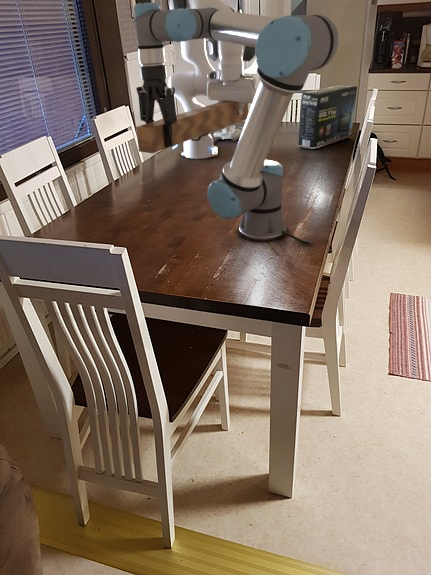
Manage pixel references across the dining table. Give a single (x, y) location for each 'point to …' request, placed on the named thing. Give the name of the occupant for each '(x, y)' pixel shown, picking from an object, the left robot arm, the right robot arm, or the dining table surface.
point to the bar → (190, 125)
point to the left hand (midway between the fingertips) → (231, 114)
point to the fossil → (229, 133)
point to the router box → (326, 115)
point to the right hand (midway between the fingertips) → (161, 145)
